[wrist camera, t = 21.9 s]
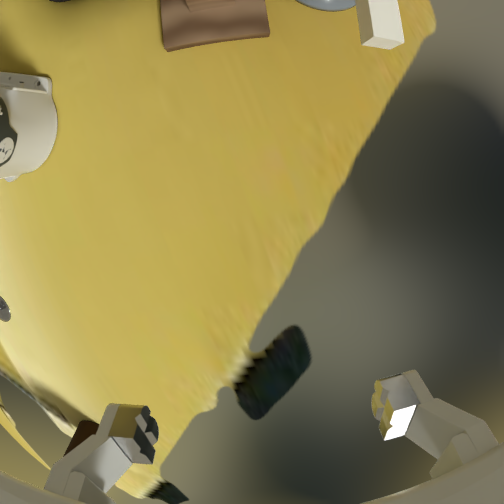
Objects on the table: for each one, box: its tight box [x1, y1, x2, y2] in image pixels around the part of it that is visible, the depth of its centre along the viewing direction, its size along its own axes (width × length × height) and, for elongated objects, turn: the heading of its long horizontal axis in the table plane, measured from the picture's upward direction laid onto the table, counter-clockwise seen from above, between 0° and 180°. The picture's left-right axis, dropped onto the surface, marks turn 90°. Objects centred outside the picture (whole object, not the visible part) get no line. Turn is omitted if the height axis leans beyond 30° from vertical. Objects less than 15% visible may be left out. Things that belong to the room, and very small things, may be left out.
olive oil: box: [63, 421, 99, 457], centre depth 51 cm, size 11×11×25 cm
